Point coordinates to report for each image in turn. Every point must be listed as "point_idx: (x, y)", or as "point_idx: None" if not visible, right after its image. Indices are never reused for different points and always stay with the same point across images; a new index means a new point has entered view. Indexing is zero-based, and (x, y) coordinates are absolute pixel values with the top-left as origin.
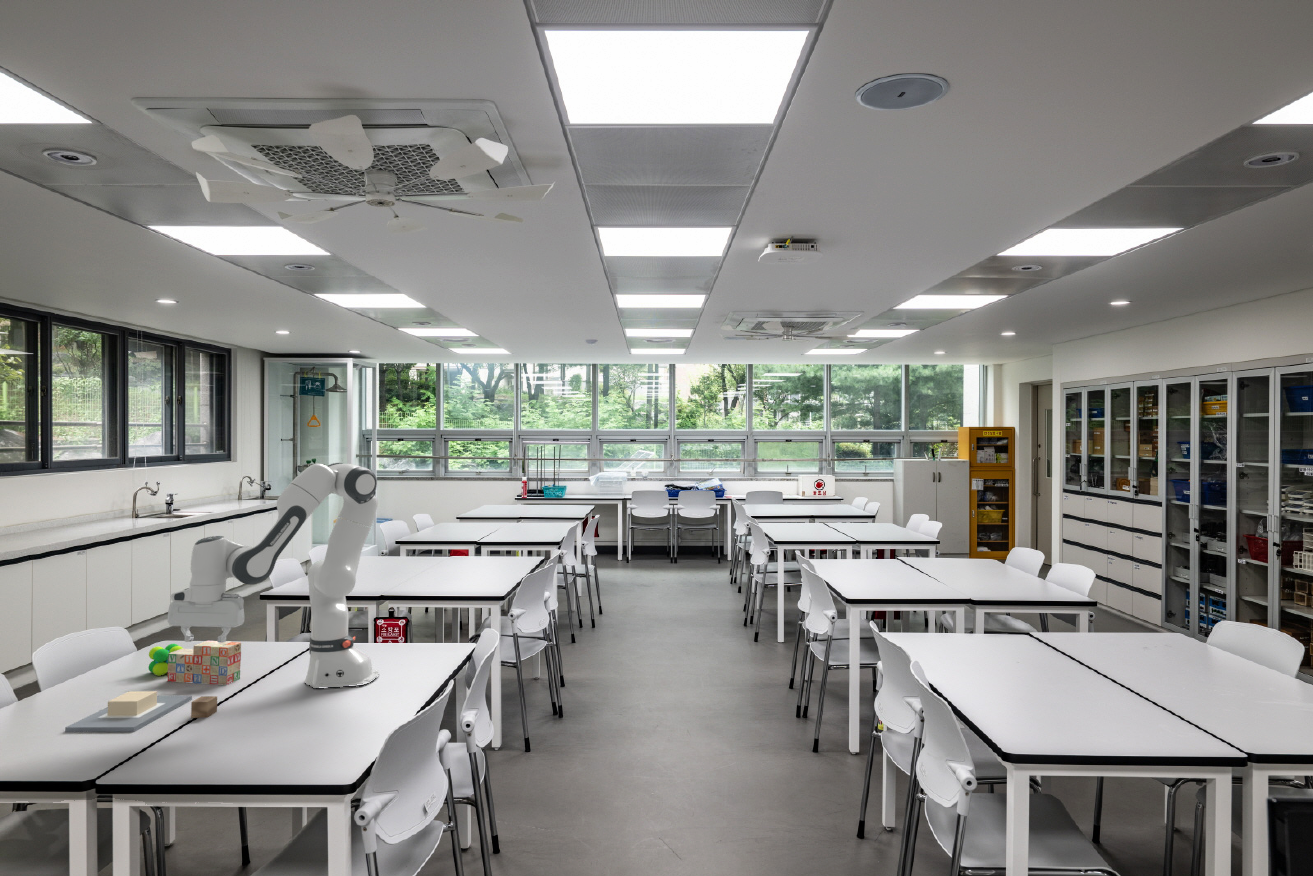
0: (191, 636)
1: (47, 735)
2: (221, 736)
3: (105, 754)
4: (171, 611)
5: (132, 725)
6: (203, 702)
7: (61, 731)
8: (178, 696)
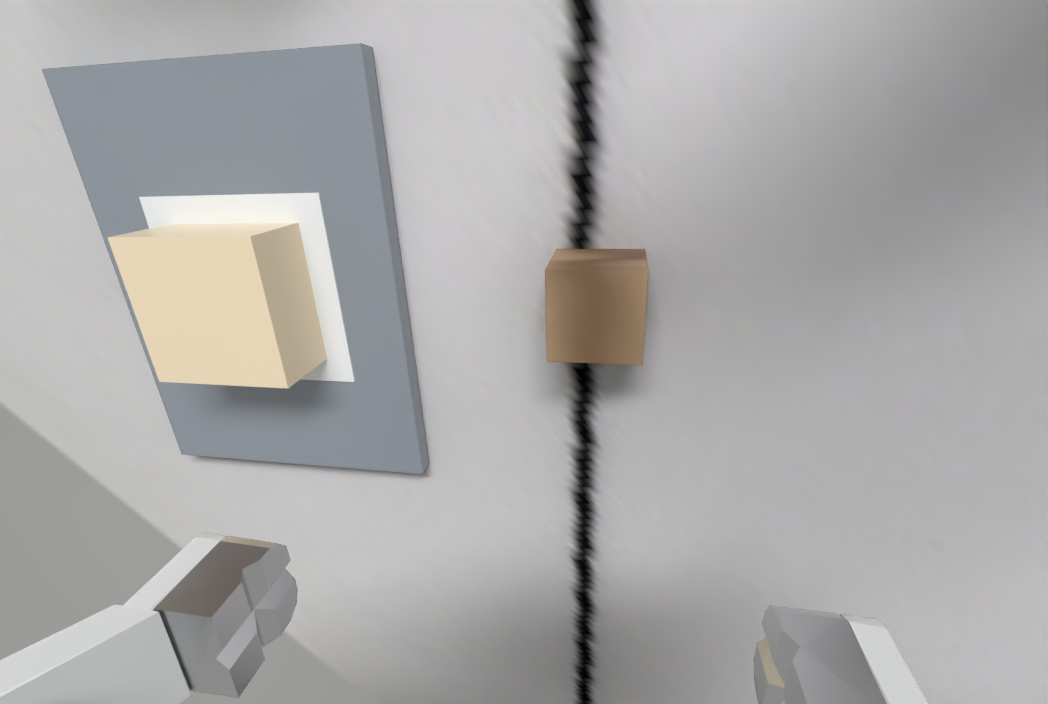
0: (233, 634)
1: (170, 465)
2: (826, 536)
3: (485, 615)
4: None
5: (401, 457)
6: (617, 363)
7: None
8: (294, 67)
